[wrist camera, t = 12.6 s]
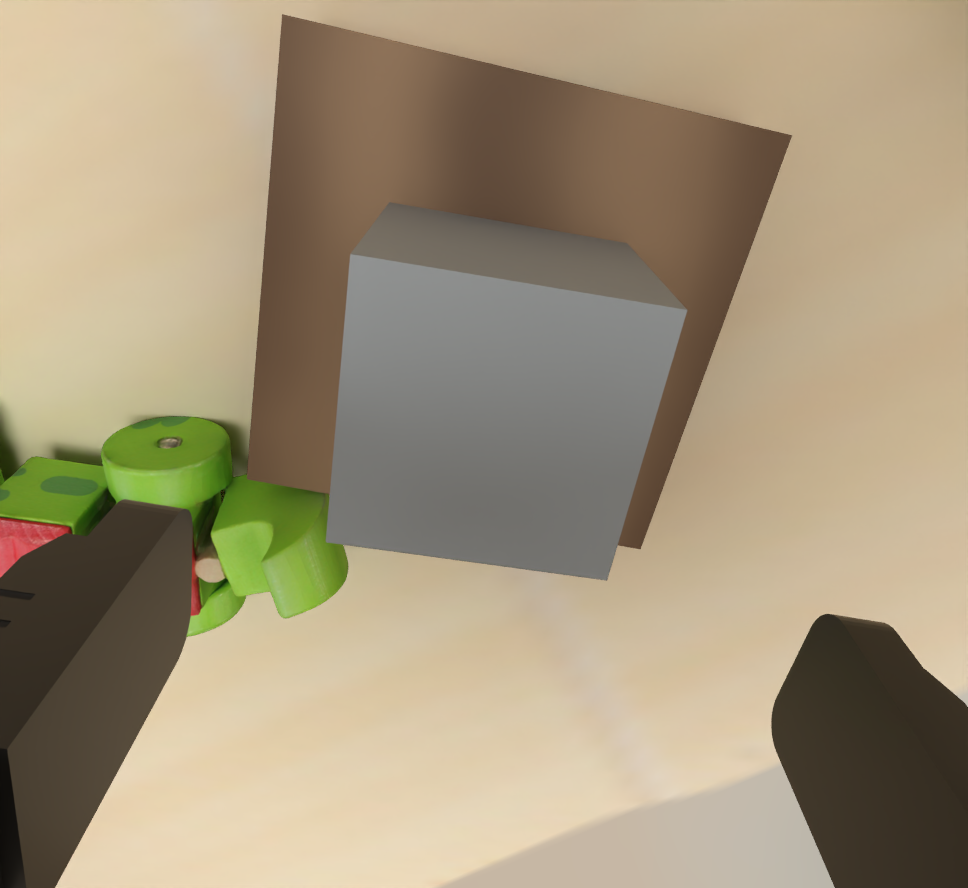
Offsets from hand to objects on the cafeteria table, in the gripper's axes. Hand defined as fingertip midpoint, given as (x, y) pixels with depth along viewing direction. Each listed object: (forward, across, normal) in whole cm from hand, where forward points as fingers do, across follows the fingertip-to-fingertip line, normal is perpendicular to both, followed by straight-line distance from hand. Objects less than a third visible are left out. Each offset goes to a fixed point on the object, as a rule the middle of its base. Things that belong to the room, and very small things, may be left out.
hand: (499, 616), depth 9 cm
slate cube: (+11, 0, 0) cm, 11 cm away
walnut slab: (+15, 0, 0) cm, 15 cm away
